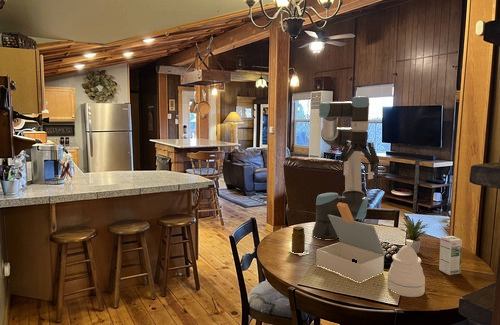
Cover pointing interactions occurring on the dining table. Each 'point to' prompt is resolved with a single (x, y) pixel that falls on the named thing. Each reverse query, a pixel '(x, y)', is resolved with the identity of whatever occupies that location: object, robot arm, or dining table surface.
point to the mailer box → (350, 261)
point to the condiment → (298, 240)
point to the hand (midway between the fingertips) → (357, 176)
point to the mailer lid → (355, 231)
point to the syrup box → (450, 255)
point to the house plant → (414, 234)
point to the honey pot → (406, 273)
